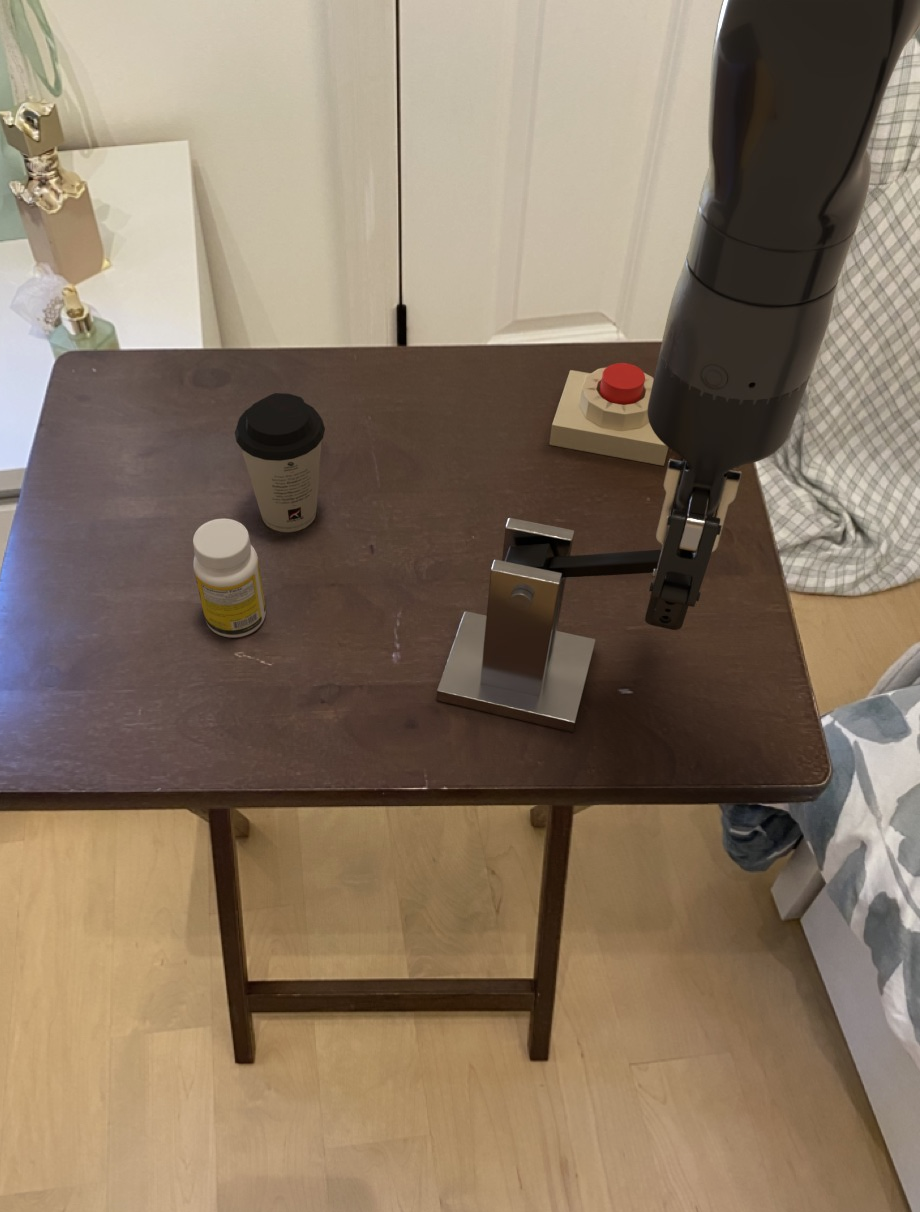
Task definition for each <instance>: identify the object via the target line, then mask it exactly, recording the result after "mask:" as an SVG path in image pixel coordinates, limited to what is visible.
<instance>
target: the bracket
mask: <svg viewBox="0 0 920 1212" xmlns="http://www.w3.org/2000/svg"><path fill="white" fill-rule="evenodd" d="M574 536H575V530H573V529H568V528H563V527H559V526H553V525H548V524H544V523H543V524H542V523H538V522H534V521H528V520H524V519H518V518H514V517H513V518H512V517H509V518H507V521H506V525H505V530H504V537H503V539H504V540H503V547H502V556H501V559H500V560H499V559H494V560H493V562H492V566H491V567H490V574H489V586H488V587H489V588H488V597H487V605H486V606H487V607H486V615H485V614H481V613H476V612H472V611H468V610H464V612H463V615H462V618H461V621H460V623H459V626H458V629H457V632H456V635H455V638H454V641H453V642H452V643H453V644H452V647H451V648H450V652H449V655H448V658H447V660H446V664H445V666H444V669H443V672H442V674H441V678H440V680H439V684H438V687H437V688H436V701H437V702H441V703H445V704H449V705H450V704H451V705H455V706H458V707H464V708H467V709H471V710H476V711H480V712H485V713H489V714H493V715H497V716H501V717H506V718H511V719H514V720H518V721H524V722H527V723H532V724H536V725H540V726H544V727H548V728H552V729H557V730H562V731H565V732H570V733H573V732H574V729H575V725H576V722H577V718H578V715H579V709H580V705H581V702H582V698H583V694H584V691H585V690H584V689H585V685H586V683H587V682H586V681H587V677H588V673H589V669H590V665H591V662H592V657H593V653H594V650H595V645H596V638H592V637H587V636H583V635H579V634H573V633H569V632H564V631H559V630H558V628H559V622H560V616H561V612H562V605H563V599H564V593H565V587H566V582H567V578H562V573H558V572H554V571H549V570H544V569H539V568H534V567H529V566H525V565H520V564H515V563H510V562H505V559H506V556H507V553H508V550H509V547H510V546H522V545H534V544H547V543H549V544H550V546H551V549H552V552H553V555H554V557H560V556H571V554H572V548H573V543H574Z"/></svg>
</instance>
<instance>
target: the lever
mask: <svg viewBox="0 0 920 1212" xmlns="http://www.w3.org/2000/svg"><path fill="white" fill-rule="evenodd" d="M660 552H661V548H659V549H647V550H645V549H644V550H633V551H631V550H630V551H618V552H604V553H590V554H576V555H574V554H573V555H570V556H560V557H554V555H553V552H552V549H551V546H550V544H549V543H547V544H534V545H522V546H510V547H509V550H508V553H507V556H506V559H505V562H510V563H515V564H520V565H525V566H529V567H534V568H539V569H544V570H549V571H554V572H558V573H562V578H566V579H574V578H575V579H576V578H589V577H590V578H591V577H605V576H607V577H608V576H620V575H621V576H622V575H638V574H639V575H640V574H653V570H654V568H655V569H656V568H657V564H658V560H659V556H660Z"/></svg>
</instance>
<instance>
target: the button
mask: <svg viewBox="0 0 920 1212" xmlns="http://www.w3.org/2000/svg"><path fill="white" fill-rule="evenodd" d="M606 367H607V368H606ZM606 367H604V368H605V370H604V371H603V374H602V380H601V385H600V395H601V397H602V398H603V399H605V400H606V401H608V402H610V403H615V404H620V405H628V404H634V403H636V402H637V401H639V400H640V398H641V396H642V392H643V387H644V382H645V374H644V373H645V372H644V371H643V370H642V369H641V368H640V367H639V366H636V365H634V364H631V363H628V362H627V363H625V362H618V363H613V364H612V363H611V364H610V365H608V366H606Z"/></svg>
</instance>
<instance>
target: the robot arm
mask: <svg viewBox="0 0 920 1212" xmlns="http://www.w3.org/2000/svg"><path fill="white" fill-rule="evenodd" d="M919 30H920V0H722V1H721V5H720V9H719V14H718V17H717V22H716V27H715V32H714V39H713V45H712V54H711V66H710V78H709V79H710V83H709V106H708V124H707V145H708V168H707V171H706V173H705V174H706V175H705V177H704V180H703V185H702V188H701V192H700V195H699V200H698V205H697V210H696V214H695V218H694V223H693V227H692V233H691V236H690V240H689V244H688V250H687V252H686V255H685V259H684V264H683V266H682V268H681V272H680V273H679V274H680V275H679V277H678V280H677V281H676V284H675V287H674V290H673V292H672V293H673V294H672V297H671V301H670V305H669V309H668V314H667V317H666V322H665V326H664V331H663V335H662V341H661V345H660V349H659V354H658V358H657V363H656V367H655V372H654V376H653V379H654V380H653V385H652V389H651V394H650V398H649V403H648V419H649V423H650V425H651V427H652V430H653V431H654V433H655V434H656V436H657V437H658V438H659V439H660V440H661V441H662V442H663V443H664V444H665V445H666V446H667V447H668V449H669V450H670V454H669V455H670V456H671V457H672V458H668V459H669V460H668V463H667V467H666V471H665V476H664V480H663V489H664V491H665V495H664V498H663V503H662V507H661V511H660V515H659V519H658V523H657V527H656V532H655V538H656V541H657V542H658V543H659V544H660V545H661V548H660V549H661V552H660V556H659V560H658V564H657V568H656V569H655V568H654V570H653V573H651V578H653V581H652V582H650V585H649V589H648V591H649V592H650V597H649V602H648V604H647V607H646V608H647V609H646V611H645V612H646V613H645V616H644V621H645V622H646V624H648V625H650V626H654V627H658V628H663V629H666V630H667V629H668V630H672V631H677V630H681V628H682V627H683V625H684V621H685V619H686V616H687V612H688V610H689V607H691V608H695V606H696V603H697V602H699V601H700V597H701V593H702V592H700V590H701V588H702V583H703V580H704V578H705V575H706V571H707V568H708V565H709V561H710V559H711V555H712V553H713V552H715V551H716V550H717V549H718V547H719V543H720V540H721V536H722V532H723V529H724V525H725V521H726V517H727V513H728V510H729V506H730V504H731V503H734V501H735V500H736V498H737V495H738V490H739V486H740V482H741V479H742V475H743V474H742V473H743V471H742V470H735V469H736V468H740V467H741V466H746V465H749V464H754V463H756V462H760V461H762V460H764V459H766V458H768V457H770V456H772V455H773V454H775V453H776V452H777V451H778V450H779V449H781V447H782V446H784V444H786V443H785V442H786V441H787V440H788V438H789V436H790V434H791V430H792V428H793V425H794V422H795V419H796V417H797V413H798V411H799V408H800V405H801V403H802V400H803V397H804V395H805V391H806V388H807V386H808V383H809V380H810V377H811V375H812V372H813V369H814V366H815V363H816V360H817V358H818V356H819V352H820V349H821V346H822V344H823V341H824V339H825V335H826V332H827V329H828V327H829V323H830V318H831V313H832V310H833V304H834V299H835V293H836V290H837V287H838V283H839V279H840V276H841V274H842V271H843V269H844V267H845V266H844V265H845V263H846V259H847V256H848V254H849V251H850V248H851V246H852V243H853V240H854V237H855V235H856V232H857V229H858V226H859V223H860V219H861V217H862V213H863V210H864V208H865V204H866V201H867V196H868V192H869V188H870V182H871V176H872V175H871V173H872V165H871V157H870V154H869V152H868V149H867V148H868V145H869V142H870V139H871V136H872V132H873V130H874V127H875V123H876V120H877V118H878V114H879V111H880V107H881V105H882V102H883V99H884V96H885V93H886V90H887V88H888V86H889V83H890V81H891V78H892V76H893V73H894V71H895V69H896V66H897V64H898V62H899V59H900V57H901V55H902V53H903V51H904V49H905V47H906V46H907V44H908V43H909V42H910V41H911V39H912V38H913V37H914V36H915V35H916V34H917V32H918V31H919Z"/></svg>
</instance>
